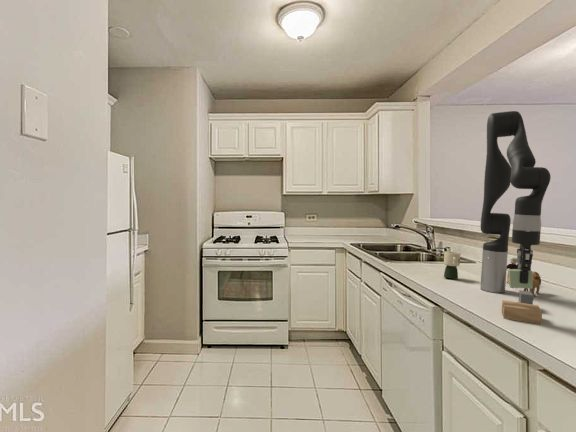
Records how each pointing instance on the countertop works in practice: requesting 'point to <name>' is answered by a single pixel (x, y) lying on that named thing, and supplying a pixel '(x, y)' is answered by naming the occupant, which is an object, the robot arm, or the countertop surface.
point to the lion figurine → (535, 283)
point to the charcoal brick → (525, 297)
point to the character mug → (451, 264)
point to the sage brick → (515, 277)
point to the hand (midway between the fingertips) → (522, 281)
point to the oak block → (521, 312)
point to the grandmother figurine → (512, 266)
